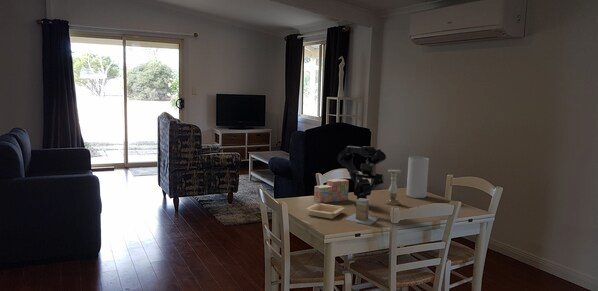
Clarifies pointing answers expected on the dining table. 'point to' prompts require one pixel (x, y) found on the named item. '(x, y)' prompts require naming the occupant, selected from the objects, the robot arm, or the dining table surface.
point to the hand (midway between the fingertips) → (362, 189)
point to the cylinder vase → (417, 177)
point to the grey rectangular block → (362, 209)
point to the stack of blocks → (332, 191)
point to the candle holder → (393, 188)
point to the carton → (324, 210)
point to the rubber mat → (367, 221)
